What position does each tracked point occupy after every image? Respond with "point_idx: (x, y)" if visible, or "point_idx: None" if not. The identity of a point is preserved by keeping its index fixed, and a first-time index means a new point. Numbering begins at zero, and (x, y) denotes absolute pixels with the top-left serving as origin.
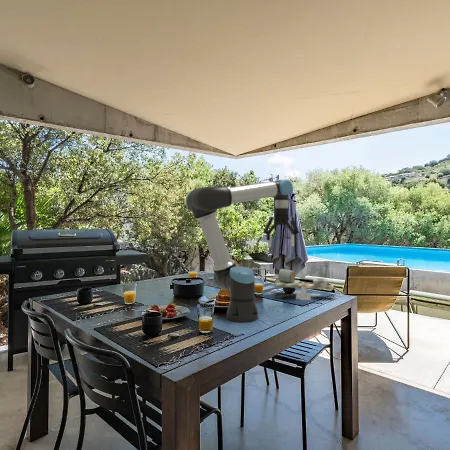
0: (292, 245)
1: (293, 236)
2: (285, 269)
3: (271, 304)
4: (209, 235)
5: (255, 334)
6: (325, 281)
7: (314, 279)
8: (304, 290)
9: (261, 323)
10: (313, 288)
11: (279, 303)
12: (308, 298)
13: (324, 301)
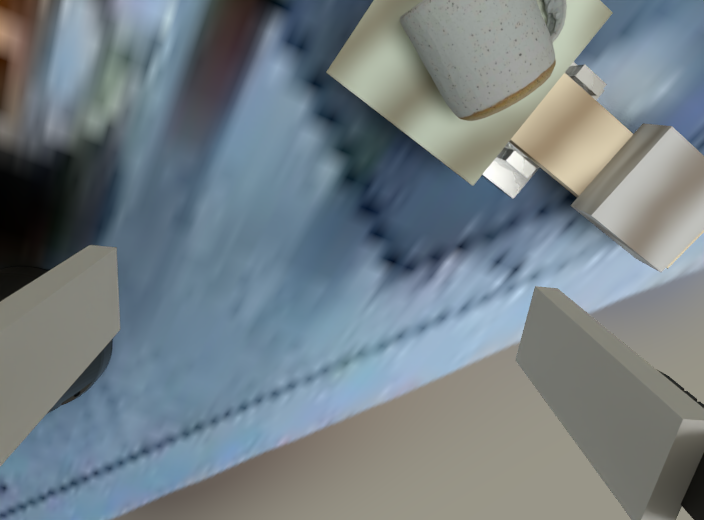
0: (524, 354)
1: (622, 490)
2: (491, 17)
3: (256, 190)
4: None
5: (46, 500)
6: (649, 263)
7: (636, 178)
8: (513, 170)
9: (100, 421)
10: (572, 193)
11: (308, 188)
12: (504, 191)
13: (557, 246)
